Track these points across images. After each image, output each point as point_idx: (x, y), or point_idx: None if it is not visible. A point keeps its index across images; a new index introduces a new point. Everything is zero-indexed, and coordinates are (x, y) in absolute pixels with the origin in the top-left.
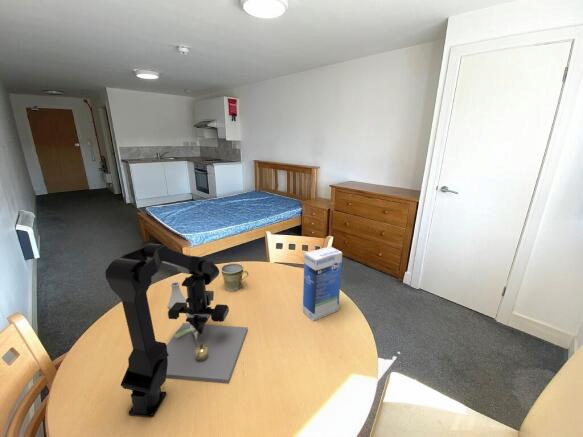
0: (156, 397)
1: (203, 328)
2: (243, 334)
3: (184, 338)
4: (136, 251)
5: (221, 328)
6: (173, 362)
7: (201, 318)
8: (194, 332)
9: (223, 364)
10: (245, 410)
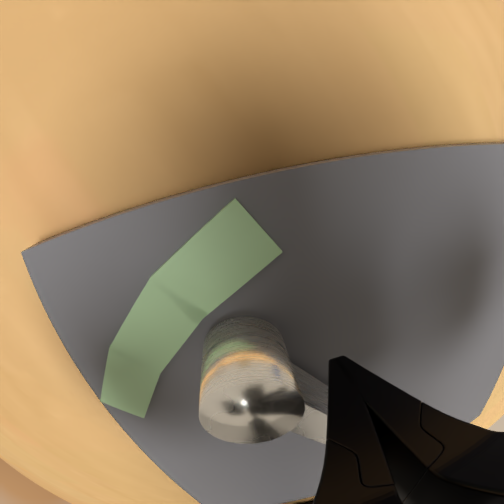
0: None
1: (371, 374)
2: None
3: (196, 404)
4: None
5: (442, 189)
6: (276, 486)
7: None
8: (296, 429)
9: (472, 397)
10: (492, 415)
